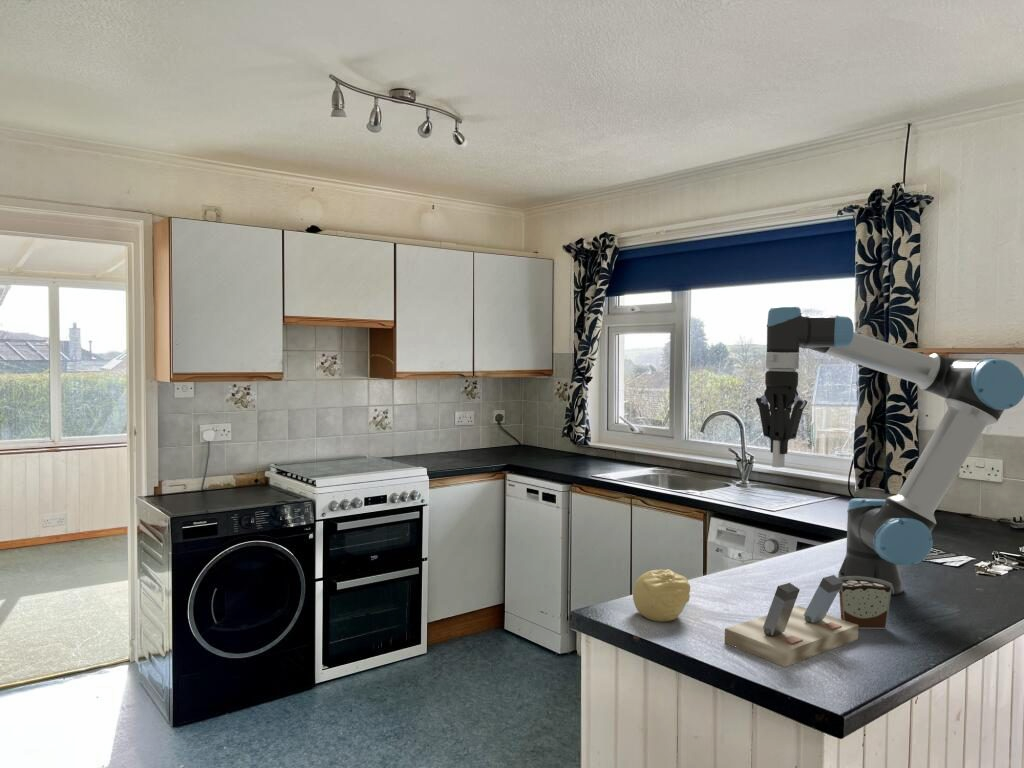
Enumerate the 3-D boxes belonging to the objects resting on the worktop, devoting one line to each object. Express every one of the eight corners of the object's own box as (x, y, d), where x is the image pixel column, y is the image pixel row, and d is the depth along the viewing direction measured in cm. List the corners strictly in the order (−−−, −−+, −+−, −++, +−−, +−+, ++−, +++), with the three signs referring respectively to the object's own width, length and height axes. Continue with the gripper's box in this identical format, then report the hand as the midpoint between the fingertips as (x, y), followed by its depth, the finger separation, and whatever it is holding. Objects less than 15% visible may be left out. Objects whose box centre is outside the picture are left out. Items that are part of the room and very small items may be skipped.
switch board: (798, 618, 166) (798, 604, 166) (858, 639, 154) (858, 623, 154) (724, 642, 150) (725, 626, 150) (784, 667, 139) (785, 650, 139)
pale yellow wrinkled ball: (653, 629, 157) (654, 579, 157) (623, 610, 168) (624, 564, 168) (696, 622, 162) (698, 574, 161) (664, 605, 173) (666, 560, 172)
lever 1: (774, 627, 150) (790, 582, 147) (783, 634, 149) (800, 589, 145) (761, 631, 148) (777, 586, 145) (770, 638, 146) (787, 593, 143)
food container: (877, 619, 167) (879, 575, 167) (892, 629, 161) (894, 583, 160) (824, 618, 166) (826, 574, 166) (837, 628, 160) (839, 583, 160)
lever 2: (813, 614, 158) (834, 574, 155) (822, 621, 157) (843, 582, 153) (801, 618, 156) (822, 578, 152) (810, 625, 154) (832, 585, 150)
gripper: (749, 369, 181) (746, 464, 182) (797, 371, 171) (793, 471, 171) (768, 369, 185) (764, 462, 186) (815, 371, 175) (811, 469, 176)
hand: (778, 466), depth 179 cm, fingers closed
